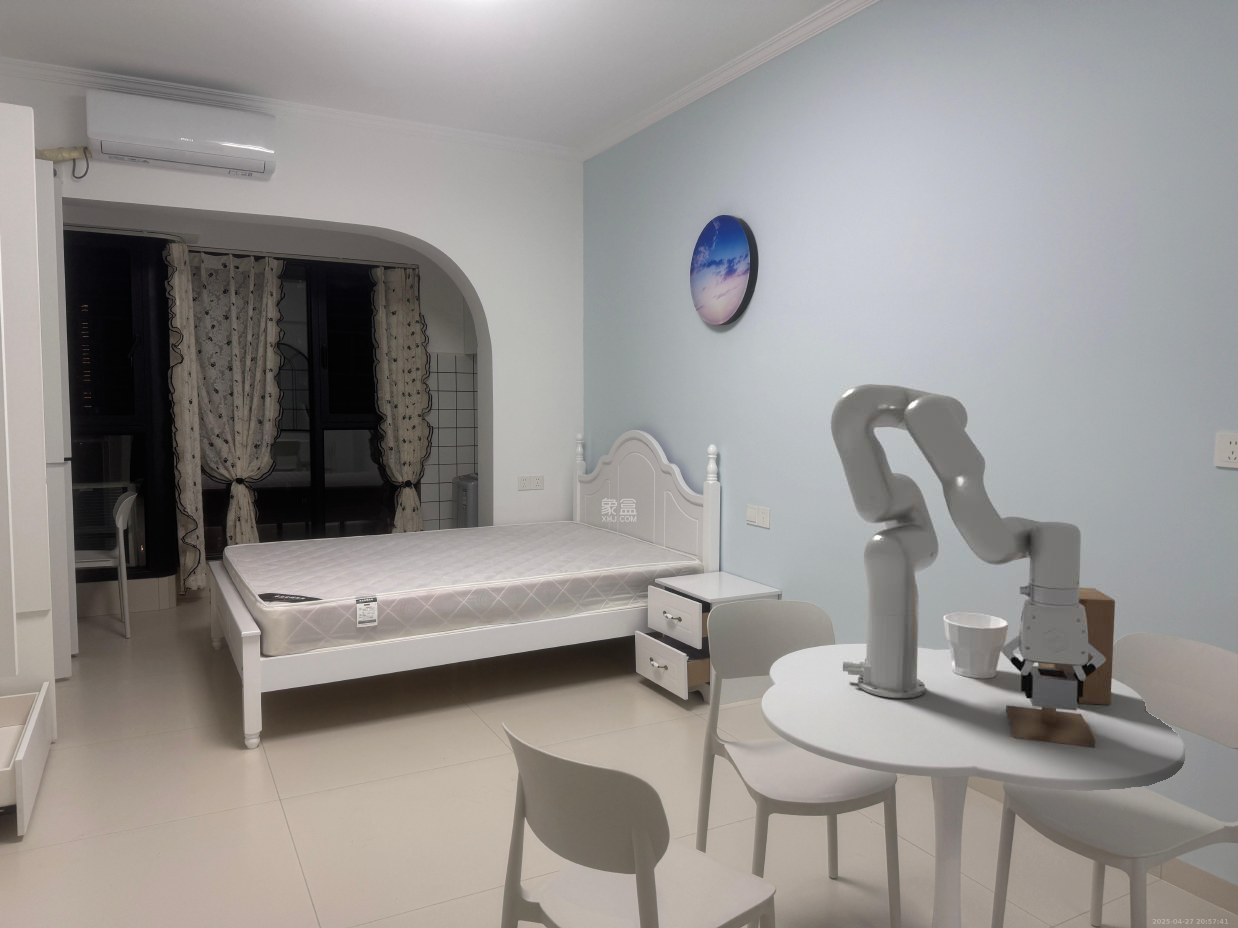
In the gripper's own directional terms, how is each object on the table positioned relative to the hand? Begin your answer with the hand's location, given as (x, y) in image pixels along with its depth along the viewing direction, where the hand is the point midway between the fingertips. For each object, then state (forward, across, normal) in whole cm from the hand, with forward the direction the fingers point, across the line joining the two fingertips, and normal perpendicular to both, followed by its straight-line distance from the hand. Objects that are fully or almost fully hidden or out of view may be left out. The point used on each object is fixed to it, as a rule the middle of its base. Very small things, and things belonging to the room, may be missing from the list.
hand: (1051, 697), depth 139 cm
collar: (+1, 0, 0) cm, 1 cm away
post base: (+6, 0, 0) cm, 6 cm away
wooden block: (+6, +7, +20) cm, 22 cm away
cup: (+6, -10, +28) cm, 31 cm away
